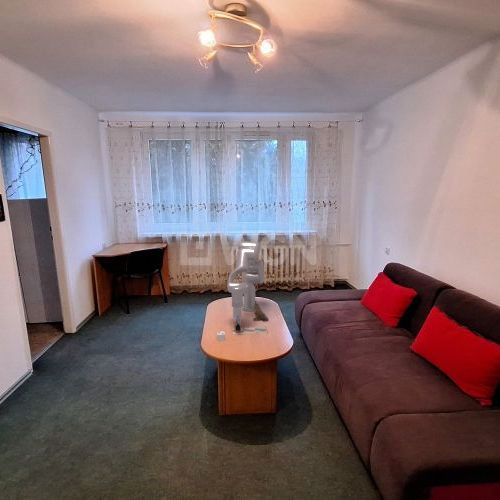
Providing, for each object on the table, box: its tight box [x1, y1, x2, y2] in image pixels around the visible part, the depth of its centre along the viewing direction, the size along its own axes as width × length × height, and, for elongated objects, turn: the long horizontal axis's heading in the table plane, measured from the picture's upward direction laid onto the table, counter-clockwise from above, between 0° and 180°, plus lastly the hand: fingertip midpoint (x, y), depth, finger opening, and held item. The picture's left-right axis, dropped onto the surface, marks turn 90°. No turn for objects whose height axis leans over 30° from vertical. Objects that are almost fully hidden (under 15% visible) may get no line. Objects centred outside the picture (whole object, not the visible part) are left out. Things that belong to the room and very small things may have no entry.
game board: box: [231, 326, 269, 335], centre depth 224 cm, size 11×25×1 cm, turn 98°
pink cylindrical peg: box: [233, 320, 242, 333], centre depth 221 cm, size 4×4×12 cm
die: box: [216, 330, 226, 342], centre depth 211 cm, size 5×5×5 cm
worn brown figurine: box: [252, 299, 269, 323], centre depth 240 cm, size 12×6×18 cm, turn 94°
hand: (237, 328), depth 222 cm, fingers closed on pink cylindrical peg, 4 cm apart
